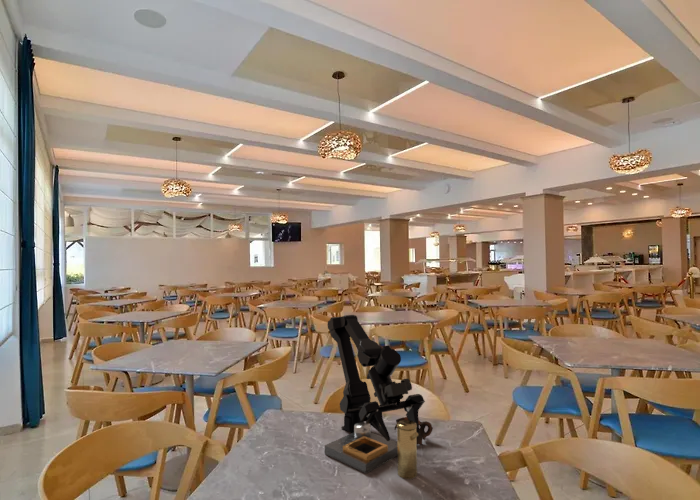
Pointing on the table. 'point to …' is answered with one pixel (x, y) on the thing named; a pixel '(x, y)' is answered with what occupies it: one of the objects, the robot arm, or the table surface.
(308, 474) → the table surface
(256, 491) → the table surface
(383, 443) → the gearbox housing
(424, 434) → the pottery mug
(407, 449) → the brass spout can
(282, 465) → the table surface
